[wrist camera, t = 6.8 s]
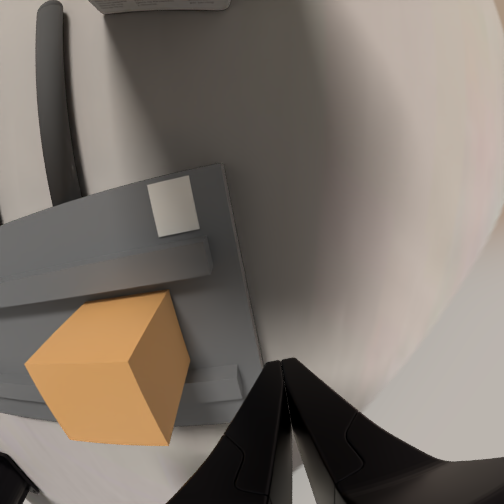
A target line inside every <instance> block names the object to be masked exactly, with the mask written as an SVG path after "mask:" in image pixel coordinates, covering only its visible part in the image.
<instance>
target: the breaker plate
mask: <svg viewBox="0 0 504 504" xmlns="http://www.w3.org/2000/svg"><path fill="white" fill-rule="evenodd" d="M166 289H169V292H170V296H171V299H172V302H173V306H174V309H175V313H176V316H177V319H178V323H179V326H180V329H181V332H182V335H183V339H184V342H185V345H186V348H187V351H188V354H189V357H190V364H189V368H188V371H187V375H186V379H185V383H184V387H183V391H182V395H181V399H180V403H179V407H178V411H177V415H176V419H175V423H174V427H176V426H197V425H211V424H223V423H231V421H232V420H233V418H234V417H235V415H236V413H237V412H238V410H239V408H240V407H241V405H242V403H243V402H244V400H245V398H246V397H247V395H248V393H249V392H250V390H251V388H252V387H253V385H254V383H255V381H256V380H257V378H258V376H259V374H260V373H261V371H262V369H263V368H264V366H263V361H262V356H261V351H260V346H259V342H258V337H257V332H256V327H255V322H254V317H253V312H252V307H251V302H250V297H249V292H248V287H247V282H246V277H245V272H244V267H243V262H242V257H241V252H240V247H239V242H238V237H237V232H236V226H235V221H234V216H233V211H232V206H231V201H230V195H229V190H228V185H227V180H226V174H225V169H224V164H223V163H218V164H214V165H209V166H204V167H199V168H194V169H190V170H185V171H181V172H176V173H172V174H168V175H164V176H160V177H155V178H151V179H147V180H143V181H139V182H136V183H132V184H128V185H124V186H121V187H117V188H113V189H110V190H106V191H103V192H99V193H96V194H92V195H89V196H86V197H82V198H79V199H76V200H73V201H69V202H66V203H63V204H60V205H57V206H54V207H51V208H48V209H45V210H42V211H39V212H36V213H33V214H31V215H28V216H25V217H22V218H19V219H17V220H14V221H11V222H9V223H6V224H3V225H1V226H0V413H5V414H10V415H15V416H21V417H27V418H33V419H40V420H47V421H54V422H58V421H57V420H56V418H55V417H54V415H53V414H52V412H51V410H50V409H49V407H48V406H47V404H46V402H45V401H44V399H43V397H42V396H41V394H40V392H39V390H38V389H37V387H36V385H35V383H34V382H33V380H32V378H31V376H30V374H29V372H28V370H27V369H26V367H25V365H24V364H25V363H26V362H27V361H28V360H29V358H30V357H31V356H32V355H33V354H34V353H35V352H36V351H37V350H38V349H39V348H40V347H41V346H42V345H43V344H44V343H45V342H46V341H47V340H48V339H49V338H50V337H51V336H52V334H53V333H54V332H55V331H56V330H57V329H58V328H59V327H60V326H61V325H62V324H63V323H64V322H65V321H66V320H67V319H68V318H69V317H70V316H71V315H72V314H74V313H75V312H76V311H77V310H78V309H79V308H80V307H81V306H82V305H83V304H84V303H85V302H87V301H94V300H101V299H108V298H115V297H121V296H128V295H134V294H141V293H147V292H154V291H160V290H166Z"/></svg>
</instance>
